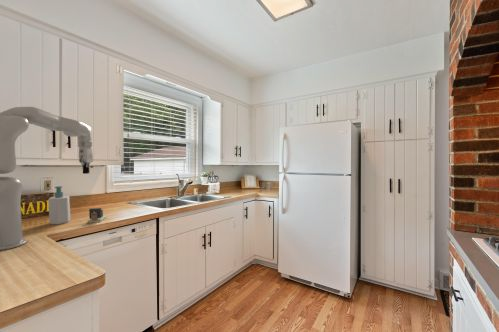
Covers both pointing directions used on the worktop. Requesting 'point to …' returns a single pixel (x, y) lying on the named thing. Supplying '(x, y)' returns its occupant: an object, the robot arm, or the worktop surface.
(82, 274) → the worktop surface
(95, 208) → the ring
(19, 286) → the worktop surface
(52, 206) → the soap bottle
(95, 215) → the pipe rig
